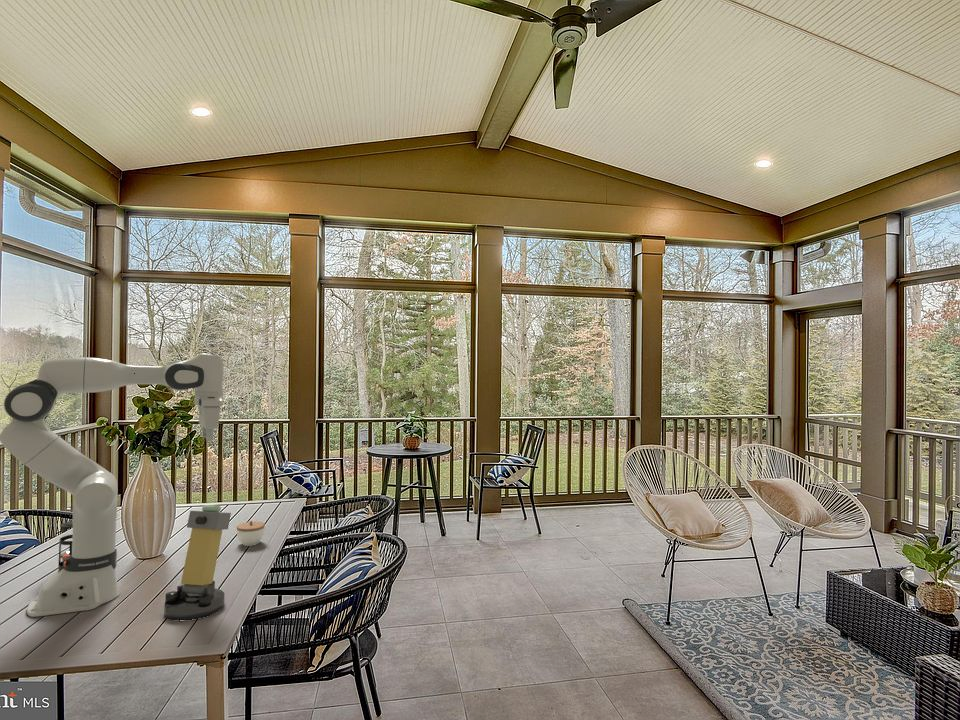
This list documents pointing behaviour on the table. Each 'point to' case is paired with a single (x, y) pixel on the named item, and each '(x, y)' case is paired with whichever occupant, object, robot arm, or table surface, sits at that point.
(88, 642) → the table surface
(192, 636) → the table surface
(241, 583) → the table surface
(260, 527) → the lidded jar
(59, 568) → the french press
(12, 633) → the table surface
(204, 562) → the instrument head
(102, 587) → the robot arm
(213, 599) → the levelling base
